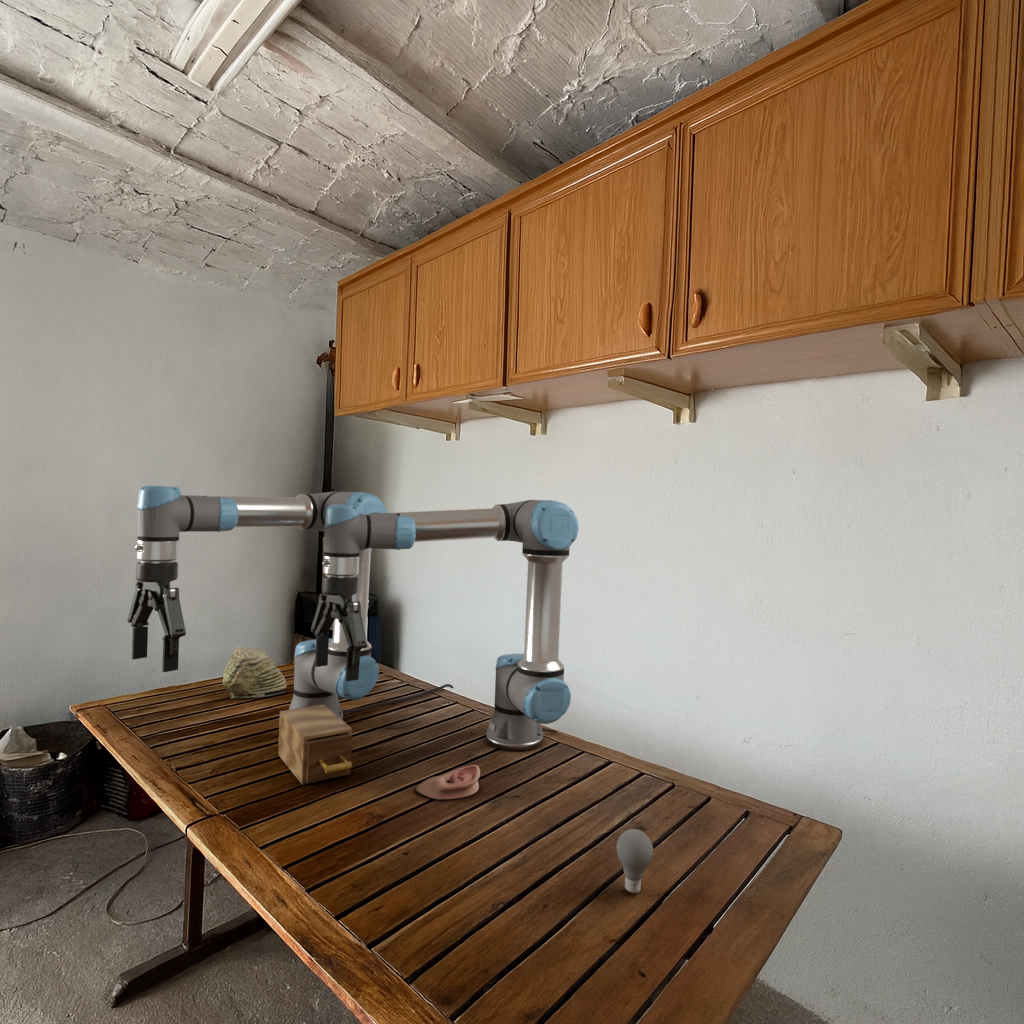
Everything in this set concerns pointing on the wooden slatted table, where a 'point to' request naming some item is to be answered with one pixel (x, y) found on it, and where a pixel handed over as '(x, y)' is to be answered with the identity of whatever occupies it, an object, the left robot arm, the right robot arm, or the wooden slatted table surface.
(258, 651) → the fossil
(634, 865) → the light bulb
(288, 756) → the cabinet
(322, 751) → the drawer
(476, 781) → the anatomical model
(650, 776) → the wooden slatted table surface
